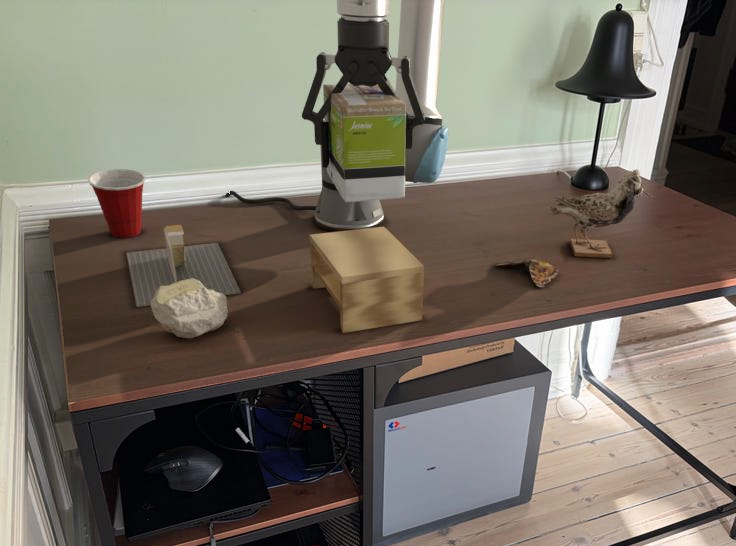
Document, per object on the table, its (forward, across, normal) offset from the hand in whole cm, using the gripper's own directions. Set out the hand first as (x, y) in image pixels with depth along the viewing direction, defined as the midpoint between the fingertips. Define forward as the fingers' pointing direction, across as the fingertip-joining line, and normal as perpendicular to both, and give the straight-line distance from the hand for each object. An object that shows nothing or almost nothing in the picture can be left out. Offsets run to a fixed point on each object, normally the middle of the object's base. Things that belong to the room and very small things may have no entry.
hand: (364, 167), depth 118 cm
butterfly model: (+24, +31, +16) cm, 43 cm away
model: (+24, -35, +10) cm, 44 cm away
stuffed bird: (+24, +45, +29) cm, 59 cm away
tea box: (+3, 0, 0) cm, 3 cm away
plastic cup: (+24, -52, +28) cm, 64 cm away
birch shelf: (+24, 0, 0) cm, 24 cm away
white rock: (+24, -26, -13) cm, 38 cm away
